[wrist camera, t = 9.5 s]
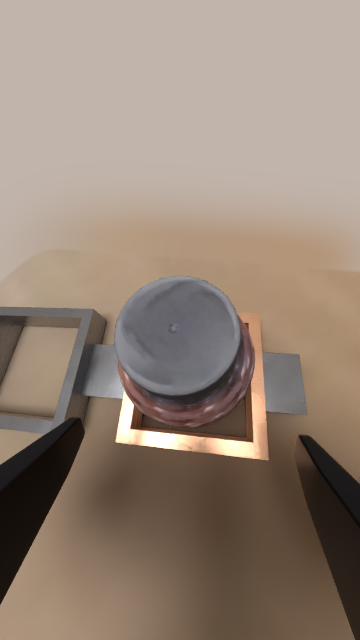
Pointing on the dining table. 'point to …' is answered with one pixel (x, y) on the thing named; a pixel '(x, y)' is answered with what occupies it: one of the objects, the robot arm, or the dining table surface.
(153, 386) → the supplement bottle
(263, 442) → the socket rail
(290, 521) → the dining table surface
